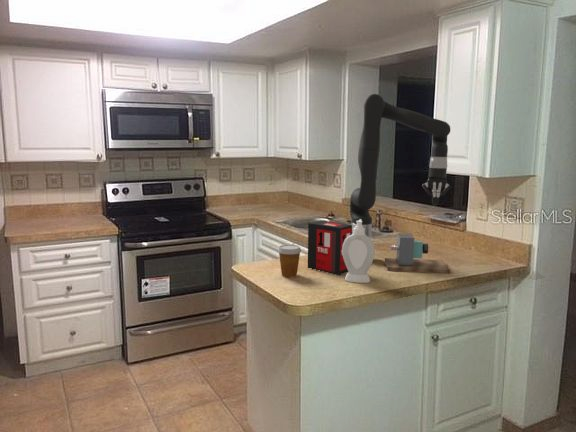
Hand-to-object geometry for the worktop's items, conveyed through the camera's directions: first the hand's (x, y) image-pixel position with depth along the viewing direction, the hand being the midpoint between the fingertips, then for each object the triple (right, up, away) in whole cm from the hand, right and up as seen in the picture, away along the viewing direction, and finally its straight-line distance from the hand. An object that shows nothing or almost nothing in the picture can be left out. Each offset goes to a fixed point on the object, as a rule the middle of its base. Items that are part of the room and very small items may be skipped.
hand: (435, 205), depth 217 cm
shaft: (-13, -21, -5) cm, 25 cm away
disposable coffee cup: (-66, -30, -19) cm, 75 cm away
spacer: (-10, -23, -5) cm, 26 cm away
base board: (-10, -27, -4) cm, 30 cm away
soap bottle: (-39, -31, -25) cm, 55 cm away
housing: (-15, -26, -4) cm, 30 cm away
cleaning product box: (-49, -28, -10) cm, 57 cm away
